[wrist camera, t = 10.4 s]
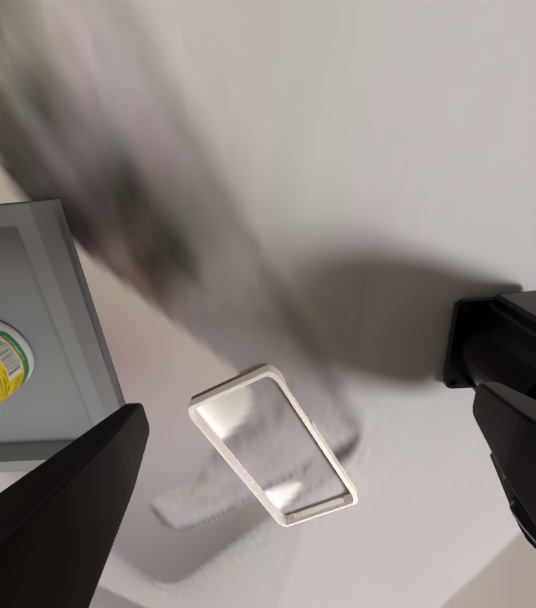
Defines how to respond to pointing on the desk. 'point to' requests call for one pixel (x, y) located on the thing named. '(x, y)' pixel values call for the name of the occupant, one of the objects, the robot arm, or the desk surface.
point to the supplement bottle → (13, 361)
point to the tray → (50, 338)
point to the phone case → (231, 412)
